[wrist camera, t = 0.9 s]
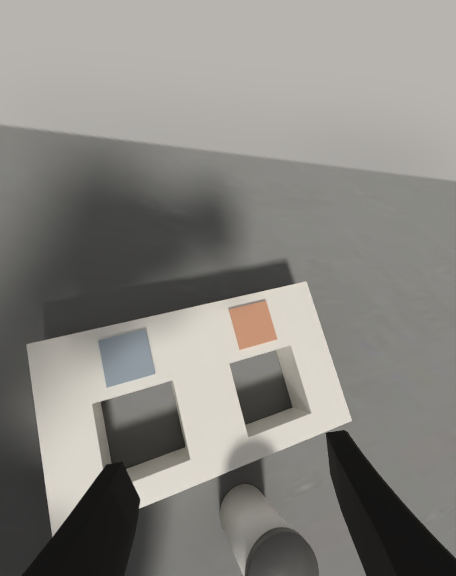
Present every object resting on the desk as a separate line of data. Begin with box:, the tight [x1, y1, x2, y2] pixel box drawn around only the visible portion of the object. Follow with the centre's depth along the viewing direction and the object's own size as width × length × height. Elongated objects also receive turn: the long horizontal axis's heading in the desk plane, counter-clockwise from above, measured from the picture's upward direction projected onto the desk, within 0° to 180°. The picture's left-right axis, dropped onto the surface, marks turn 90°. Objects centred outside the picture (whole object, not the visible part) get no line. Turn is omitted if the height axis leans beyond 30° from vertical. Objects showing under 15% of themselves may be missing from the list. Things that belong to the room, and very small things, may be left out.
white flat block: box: [26, 282, 352, 537], centre depth 21 cm, size 11×20×3 cm, turn 106°
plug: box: [220, 484, 319, 576], centre depth 18 cm, size 4×4×7 cm
